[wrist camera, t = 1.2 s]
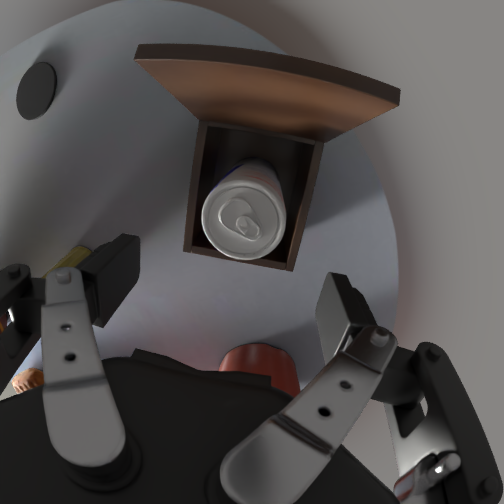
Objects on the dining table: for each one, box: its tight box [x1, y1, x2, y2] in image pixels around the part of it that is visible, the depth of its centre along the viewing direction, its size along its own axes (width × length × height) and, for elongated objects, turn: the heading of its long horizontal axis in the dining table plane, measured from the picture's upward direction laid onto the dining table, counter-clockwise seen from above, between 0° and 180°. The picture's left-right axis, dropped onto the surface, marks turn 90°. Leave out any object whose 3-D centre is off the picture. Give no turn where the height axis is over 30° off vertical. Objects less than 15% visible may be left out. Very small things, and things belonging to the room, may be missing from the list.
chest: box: [183, 120, 324, 272], centre depth 29 cm, size 13×11×9 cm
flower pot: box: [219, 344, 301, 398], centre depth 37 cm, size 16×16×16 cm
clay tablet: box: [12, 368, 44, 394], centre depth 51 cm, size 22×17×8 cm
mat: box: [16, 62, 57, 120], centre depth 28 cm, size 9×9×1 cm
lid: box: [134, 44, 401, 143], centre depth 15 cm, size 13×11×1 cm
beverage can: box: [201, 157, 286, 260], centre depth 25 cm, size 6×6×15 cm
